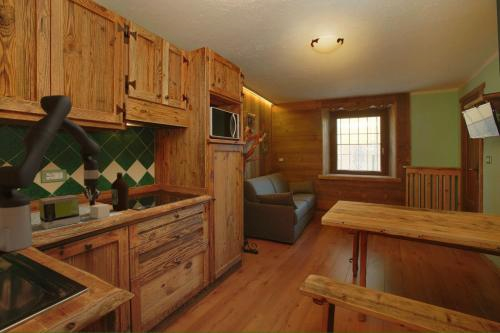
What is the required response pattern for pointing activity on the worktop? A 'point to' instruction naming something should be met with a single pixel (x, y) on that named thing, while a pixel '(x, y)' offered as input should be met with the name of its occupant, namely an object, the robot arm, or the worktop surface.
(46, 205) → the tea box
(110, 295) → the worktop surface
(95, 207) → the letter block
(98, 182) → the robot arm
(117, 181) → the olive oil
